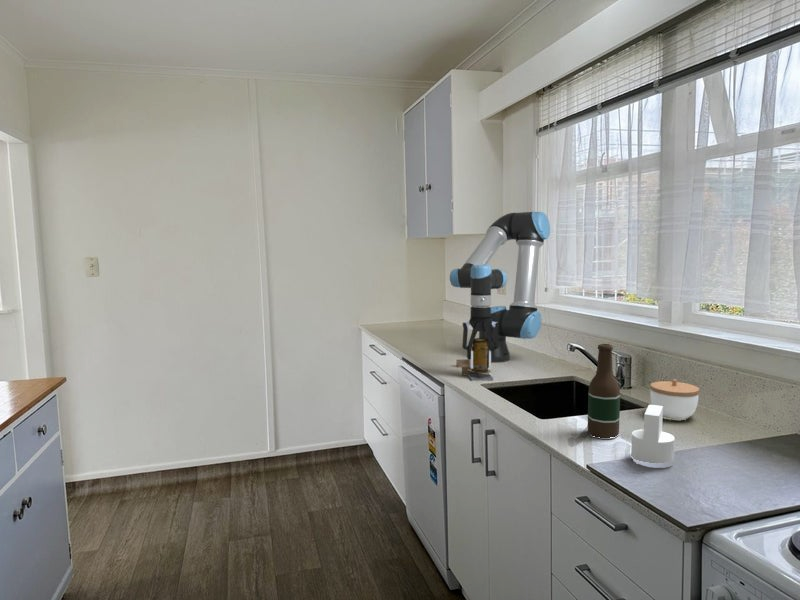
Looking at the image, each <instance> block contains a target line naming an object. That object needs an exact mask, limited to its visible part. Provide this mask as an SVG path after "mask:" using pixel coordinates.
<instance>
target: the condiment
mask: <svg viewBox="0 0 800 600" xmlns="http://www.w3.org/2000/svg"><path fill="white" fill-rule="evenodd" d="M471 350H472V351H473V368H472V369H468V370H469V371H472V372H477V373H481V374H487V373H489V374H490V373H494V372H496V370H494V369H492V368H488V346H487V340H486V339H484V338H479V337H475V339H474V343H473V346H472V349H471Z"/></svg>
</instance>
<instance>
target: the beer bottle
mask: <svg viewBox="0 0 800 600" xmlns="http://www.w3.org/2000/svg"><path fill="white" fill-rule="evenodd" d="M597 349H598V354H597V355H598V356H597V365H596V366H597V367H596V372H595V375H594V376H593V378H592V379H591V380H590V383H589V386H588V395H587V396H588V397H587V398H588V399H587V433H588V435H590V436H591V435H592V436H595V437H600V438H610V437H615V436H617V435H618V434H619V433H620V415H621V414H620V413H621V411H620V410H621V388H620V385H619V382H618V380H617V379H616V378H615V376H614V369H613V350H614V348H613V345H612V344H610V343H600V344H598V345H597ZM592 436H591V437H592ZM618 436H619V435H618ZM618 436H617V437H618ZM595 437H594V438H595Z"/></svg>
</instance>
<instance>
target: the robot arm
mask: <svg viewBox="0 0 800 600" xmlns="http://www.w3.org/2000/svg"><path fill="white" fill-rule="evenodd" d="M550 235H551V224H550V220H549V218H548V216H547V214H546V213H544V212H543V211H534V210H533V211H526V212H525V211H523V212H509V213H507V214H505V215H502V216H500V217H499V218H497V219H496V220H495V221H494V222H493V223H491V225H490V226H488V228H487V230H486V232H485V236H484V237H483V239H482V240H481V241H480V243H478V245H477V246H476V248H475V249H474V250H473V252H472V253H471V254H470V255H469V257H468V258H467V260H466V261H465V262H464V264H463V265H462V267H461V268H458V267H457V268H453V269H452V270H451V271H450V274H449V282H450V284H451V286H452V287H454V288H460V289H470V318H469V321H466V322H462V327H463V328H462V329H463V332H462V343H461V344H462V345H461V347H462V349H463V350H466V357H467V359H470V368H473V351H472V346H473V343H474V339H476V336H477V333H478V338H484V339H486V340H487V346H488V369H492V363H499V362H501V363H502V362H507V361H510V359H511V357H510V355H511V354H510V350H509V348H508V344H507V339H506V338H514V339H515V338H517V339H523V340H525V339H527V340H528V339H529V340H530V339H531V340H532V339H534V338H536V336H537V335H538V334H539V332H540V330H541V327H542V326H541V325H542V320H543V319H542V315H541V313H540V311H538V307H537V306H536V304H535V297H536V289H537V275H538V265H539V255H540V248H541V247H542V246H543V245H544V242H545V241H544V240H547V239H549V237H550ZM511 240H513V241H514V240H515V243H516V244H517V246H518V252H517V263H516V264H517V265H516V273H515V274H516V275H515V282H514V283H515V284H514V294H513V295H514V296H513V302H511V303H510V304H509V307H508V308H509V309H507V307H506V305H497V306H491V305H492V297H491V296H492V290H499V289H501V288H503V287H505V286H506V285H507V282H508V275H507V273H506V272H505V271H504V270H502V269H499V268H494V269H492V266H491V265H490V264H489V262H490V260H491V259H492V258H493V256H495V254H496V252H497V251H498V250H499V248H500V247H501V246H503V245H505V244H506V242H507V241H511ZM470 326H471V328H472V331H471V334H470V337H469V340H468V334H469V333H468V332H469V331H468V330H469V327H470ZM467 343H468V344H467Z"/></svg>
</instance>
